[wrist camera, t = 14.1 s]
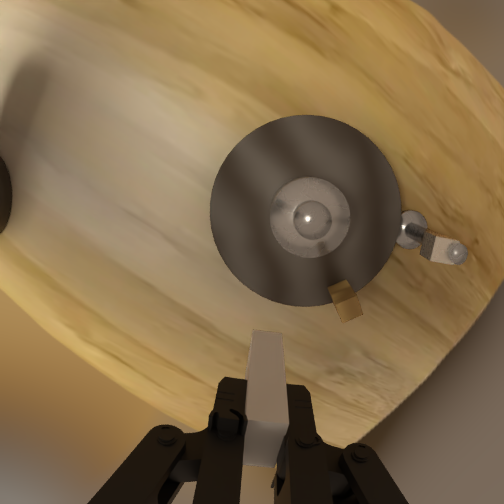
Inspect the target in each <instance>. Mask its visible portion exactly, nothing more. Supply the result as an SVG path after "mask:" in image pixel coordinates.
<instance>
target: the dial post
mask: <svg viewBox="0 0 504 504" xmlns="http://www.w3.org/2000/svg"><path fill="white" fill-rule="evenodd" d="M459 242H460V241H458V240H456V239H453V238H451V237H449V236H446V235H441V234H438V233H436V232H434V231H431V230H429V229H427V222H426V220H425V218H424V217H423V215H422V214H420V213H419V212H416V211H413V210H406V211H403V212H401V222H400V229H399V233H398V237H397V240H396V243H397V244H398V245H400V246H401V247H403V248H405V249H414V248H416V247H418V246H420V245H422V247H421V251H420V255H422V256H423V257H425V258H426V259H428V260H429V261H434V262H439V263H445V264H451V265H454V264H456V265H461V264H463V263H464V262H465V260H466V258H467V255H468V251H467V248H466V247H465V246H464V245H462V244H460V243H459Z"/></svg>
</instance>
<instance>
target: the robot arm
mask: <svg viewBox="0 0 504 504" xmlns="http://www.w3.org/2000/svg"><path fill="white" fill-rule="evenodd" d="M11 200H12V192H11V182H10V177H9V173H8V170H7V168H6V165H5V163H4V162H3V160H2V159H1V157H0V233H1V232H2V230H3V229H4V227H5V225H6V223H7V221H8V218H9V214H10V209H11ZM276 462H277V471H276V474H275V477H274V479H273V482H272V485H271V488H274V504H409V503H408V502H407V500H406V499H405V497H404V496H403V494H402V493H401V491H400V490H399V488H398V486H397V485H396V483H395V482H394V481H393V479H392V477H391V476H390V474H389V473H388V471H387V470H386V468H385V466H384V465H383V463H382V462H381V460H380V459H379V457H378V456H377V454H376V452H375V451H374V450H373V449H372V448H371V447H369V446H367V445H365V444H361V443H353V444H350V445H348V446H347V447H346V448H345V449H341V448H338V447H334V446H331V445H328V444H326V443H325V442H323V440H322V438H321V437H320V436H319V435H318V434H317V432H316V426H315V420H314V414H313V409H312V403H311V396H310V392H309V391H308V390H307V389H306V387H305V386H304V385H293V384H286V376H285V363H284V351H283V340H282V333H276V332H268V331H261V330H254V329H253V331H252V337H251V343H250V349H249V355H248V361H247V367H246V374H245V380H244V379H237V378H230V377H224V378H223V379H222V380H221V381H220V382H219V384H218V389H217V394H216V399H215V403H214V408H213V410H212V411H211V413H210V415H209V421H208V427H207V428H206V429H204V430H202V431H200V432H196V433H183V432H182V431H181V429H179V428H177V427H175V426H172V425H159V426H156V427H154V428H152V429H151V430H150V431H149V433H148V434H147V435H146V436H145V437H144V438H143V440H142V441H141V442H140V443H139V444H138V445H137V447H136V448H135V449H134V450H133V451H132V452H131V454H130V455H129V456H128V457H127V459H126V460H125V461H124V462H123V463H122V464H121V465H120V467H119V468H118V469H117V470H116V471H115V472H114V474H113V475H112V476H111V477H110V479H108V481H107V482H106V483H105V484H104V485H103V487H102V488H101V489H100V490H99V491H98V492H97V493H96V494H95V496H94V497H93V498H92V499H91V500H90V501H89V502H88V503H87V504H171V503H172V502H173V500H174V498H175V497H176V495H177V494H178V492H179V490H180V489H181V487H182V485H183V484H184V482H191V481H192V482H193V481H197V484H196V489H195V494H194V499H193V504H239V502H240V490H241V478H242V466H243V465H250V466H260V467H272V468H274V467H275V465H276Z"/></svg>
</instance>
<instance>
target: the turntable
mask: <svg viewBox="0 0 504 504" xmlns="http://www.w3.org/2000/svg"><path fill="white" fill-rule="evenodd" d="M303 176H307V177H315V178H320V179H323V180H326V181H328V182H330V183H332V184H333V185H334V186H336V187H337V188H338V189H339V190H340V191H341V192H342V194H343V195H344V197H345V198H346V200H347V203H348V205H349V210H350V225H349V229H348V232H347V234H346V236H345V238H344V240H343V241H342V242H341V244H340V245H339V246H338V247H337V248H336V249H334V250H333V251H332V252H330V253H328V254H326V255H323V256H320V257H315V258H304V257H299V256H296V255H294V254H292V253H290V252H288V251H287V250H285V249H284V248H283V247H282V246H281V245H280V244H279V243H278V241H277V240H276V238H275V236H274V234H273V232H272V229H271V224H270V205H271V201H272V199H273V196H274V195H275V193H276V192H277V190H278V189H279V188H280V187H281V186H282V185H283V184H284V183H286V182H287V181H289V180H291V179H294V178H297V177H303ZM210 221H211V229H212V233H213V237H214V241H215V244H216V246H217V248H218V251H219V253H220V255H221V257H222V259H223V260H224V262H225V264H226V265H227V267H228V268H229V269H230V271H231V272H232V273H233V274H234V275H235V276H236V277H237V278H238V279H239V280H240V281H241V282H242V283H243V284H244V285H245V286H247V287H248V288H249V289H250V290H252V291H254V292H255V293H257V294H259V295H260V296H262V297H264V298H267V299H269V300H271V301H274V302H278V303H281V304H285V305H291V306H302V307H310V306H320V305H325V304H329V303H334V306H335V308H336V310H337V312H338V314H339V316H340V319H341V321H342V323H344V322H347V321H349V320H351V319H354V318H356V317H358V316H361V315H363V312H362V309H361V306H360V303H359V300H358V297H357V295H356V293H355V292H357V291H358V290H360V289H361V288H363V287H364V286H365V285H366V284H367V283H369V282H370V281H371V280H372V279H373V278H374V277H375V276H376V275H377V274H378V272H379V271H380V270H381V269H382V267H383V266H384V264H385V263H386V262H387V260H388V258H389V256H390V254H391V252H392V251H393V248H394V246H395V243H396V240H397V237H398V233H399V229H400V222H401V199H400V192H399V188H398V184H397V181H396V178H395V175H394V173H393V171H392V168H391V166H390V165H389V163H388V161H387V159H386V158H385V156H384V155H383V154H382V152H381V151H380V150H379V149H378V147H377V146H376V145H375V144H374V143H373V142H372V141H371V140H370V139H369V138H368V137H366V136H365V135H364V134H362V133H361V132H360V131H358V130H357V129H355V128H353V127H351V126H349V125H347V124H346V123H343V122H340V121H338V120H335V119H331V118H327V117H323V116H314V115H297V116H290V117H285V118H280V119H277V120H274V121H272V122H269V123H267V124H265V125H263V126H261V127H259V128H257V129H255V130H254V131H253V132H251V133H250V134H248V135H247V136H246V137H244V138H243V139H242V140H241V141H240V142H239V143H238V144H237V145H236V146H235V147H234V148H233V150H232V151H231V152H230V153H229V154H228V156H227V157H226V159H225V161H224V162H223V164H222V165H221V167H220V170H219V172H218V174H217V176H216V179H215V182H214V186H213V189H212V194H211V201H210Z"/></svg>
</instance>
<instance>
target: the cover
mask: <svg viewBox="0 0 504 504" xmlns="http://www.w3.org/2000/svg"><path fill="white" fill-rule="evenodd" d="M270 224H271V229H272V232H273V234H274V236H275V238H276V240H277V241H278V243H279V244H280V245H281V246H282V247H283V248H284V249H285V250H287V251H288V252H290V253H292V254H294V255H296V256H299V257H304V258H315V257H320V256H323V255H326V254H328V253H330V252H332V251H333V250H334V249H336V248H337V247H338V246H339V245H340V244H341V242H342V241H343V240H344V238H345V236H346V234H347V232H348V229H349V225H350V210H349V205H348V203H347V200H346V198H345V197H344V195H343V194H342V192H341V191H340V190H339V189H338V188H337V187H336V186H334V185H333V184H332V183H330V182H328V181H326V180H323V179H320V178H315V177H307V176H303V177H297V178H294V179H291V180H289V181H287V182H286V183H284V184H283V185H282V186H281V187H280V188H279V189H278V190H277V192H276V193H275V195H274V196H273V199H272V201H271V205H270Z"/></svg>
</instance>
